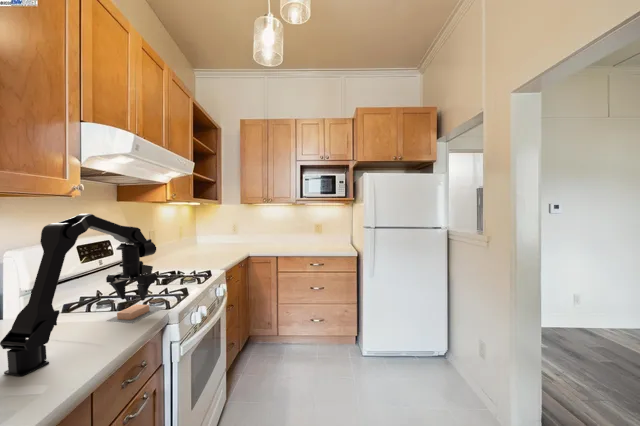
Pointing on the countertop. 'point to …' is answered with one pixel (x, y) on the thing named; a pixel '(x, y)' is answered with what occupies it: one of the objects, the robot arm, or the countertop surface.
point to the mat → (151, 311)
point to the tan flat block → (133, 312)
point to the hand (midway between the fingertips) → (133, 299)
